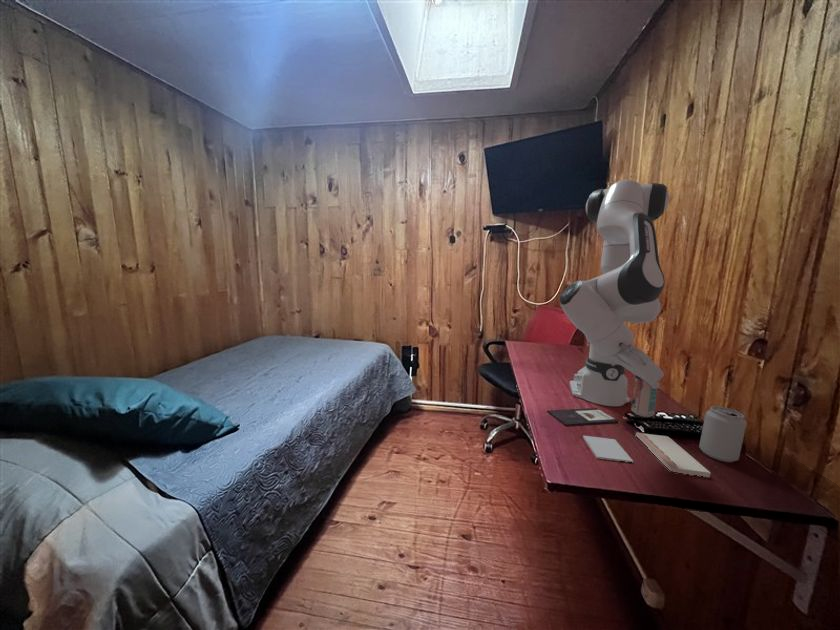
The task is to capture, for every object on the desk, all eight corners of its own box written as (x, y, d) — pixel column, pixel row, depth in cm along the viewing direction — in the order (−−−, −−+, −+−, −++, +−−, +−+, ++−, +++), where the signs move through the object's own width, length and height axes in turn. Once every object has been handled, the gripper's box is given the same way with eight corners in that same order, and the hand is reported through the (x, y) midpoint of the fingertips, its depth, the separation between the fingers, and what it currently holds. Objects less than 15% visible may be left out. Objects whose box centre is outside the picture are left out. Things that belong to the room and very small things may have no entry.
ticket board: (635, 436, 90) (636, 432, 90) (667, 440, 89) (668, 435, 89) (670, 472, 74) (671, 467, 74) (709, 477, 73) (710, 472, 73)
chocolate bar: (547, 410, 103) (596, 408, 106) (546, 413, 103) (596, 410, 107) (565, 424, 94) (618, 421, 98) (565, 427, 94) (617, 424, 98)
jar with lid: (632, 407, 84) (637, 362, 82) (654, 413, 81) (660, 366, 80) (629, 414, 81) (635, 367, 79) (653, 420, 78) (659, 371, 76)
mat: (582, 437, 88) (583, 435, 88) (614, 441, 87) (614, 439, 87) (597, 458, 78) (597, 456, 78) (633, 463, 77) (633, 461, 77)
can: (732, 467, 78) (742, 420, 76) (693, 451, 84) (702, 407, 82) (742, 459, 82) (752, 413, 80) (704, 444, 88) (713, 402, 86)
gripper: (645, 340, 69) (688, 389, 69) (606, 324, 89) (639, 362, 89) (620, 359, 70) (662, 407, 70) (586, 338, 90) (619, 376, 90)
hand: (649, 381), depth 80 cm, fingers closed on jar with lid, 5 cm apart
